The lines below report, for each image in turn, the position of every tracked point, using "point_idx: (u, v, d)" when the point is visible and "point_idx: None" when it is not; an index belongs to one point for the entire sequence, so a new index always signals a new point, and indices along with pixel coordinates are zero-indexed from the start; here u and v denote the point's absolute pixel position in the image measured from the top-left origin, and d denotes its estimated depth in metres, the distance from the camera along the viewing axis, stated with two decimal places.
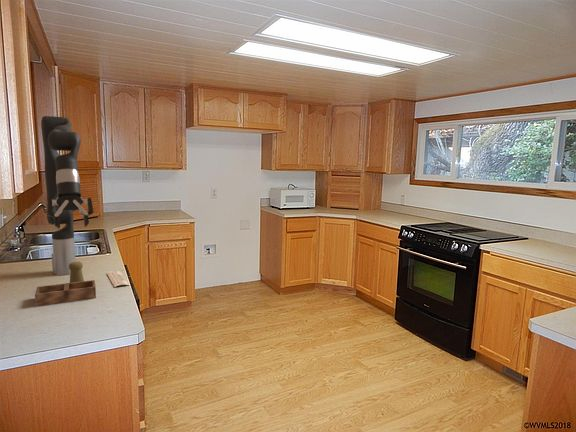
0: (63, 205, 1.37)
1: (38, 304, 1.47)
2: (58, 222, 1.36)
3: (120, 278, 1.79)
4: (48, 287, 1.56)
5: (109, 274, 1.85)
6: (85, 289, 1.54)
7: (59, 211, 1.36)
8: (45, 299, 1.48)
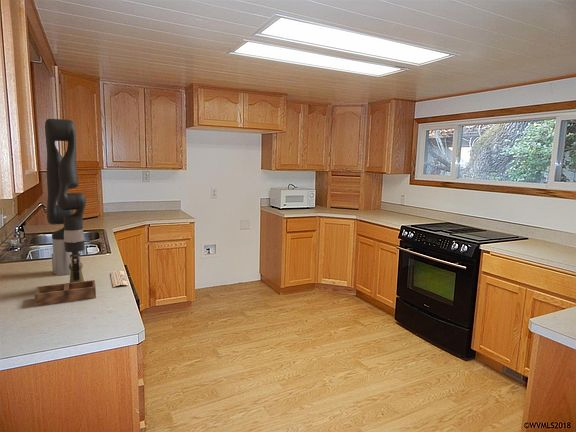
0: None
1: (38, 304, 1.47)
2: None
3: (121, 278, 1.79)
4: (48, 287, 1.56)
5: (112, 274, 1.86)
6: (85, 289, 1.54)
7: None
8: (45, 299, 1.48)
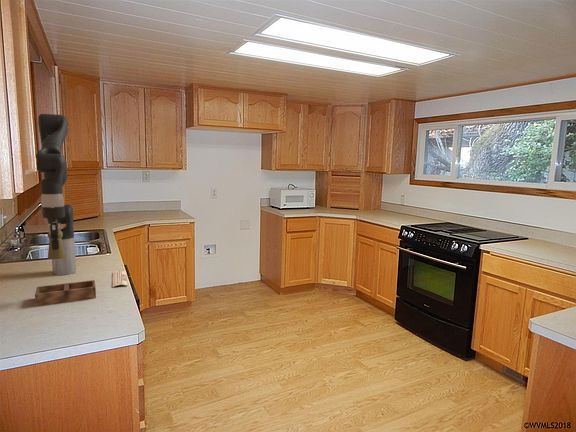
0: (59, 228, 1.52)
1: (38, 304, 1.47)
2: (58, 244, 1.52)
3: (122, 278, 1.79)
4: (48, 287, 1.56)
5: (114, 273, 1.86)
6: (85, 289, 1.54)
7: None
8: (45, 299, 1.48)
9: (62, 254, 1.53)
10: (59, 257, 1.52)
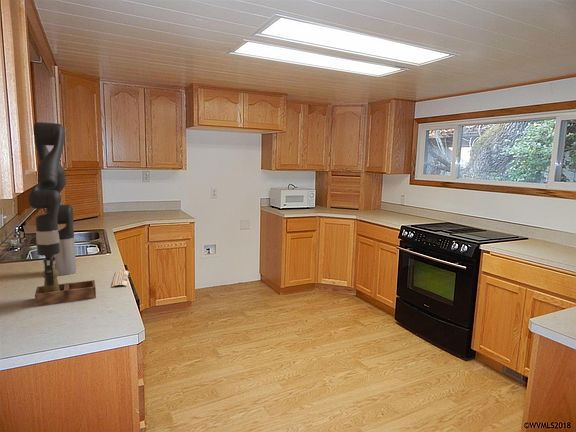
0: (54, 264, 1.50)
1: (38, 304, 1.47)
2: (53, 280, 1.49)
3: (122, 278, 1.79)
4: None
5: (116, 273, 1.87)
6: (85, 289, 1.54)
7: (53, 270, 1.49)
8: (45, 299, 1.48)
9: None
10: None
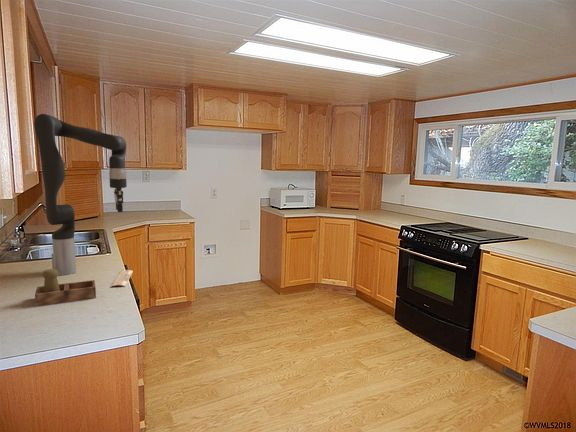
0: None
1: (38, 304, 1.47)
2: (122, 208, 1.87)
3: (123, 278, 1.79)
4: None
5: (120, 273, 1.88)
6: (85, 289, 1.54)
7: (122, 200, 1.87)
8: (45, 299, 1.48)
9: None
10: None
